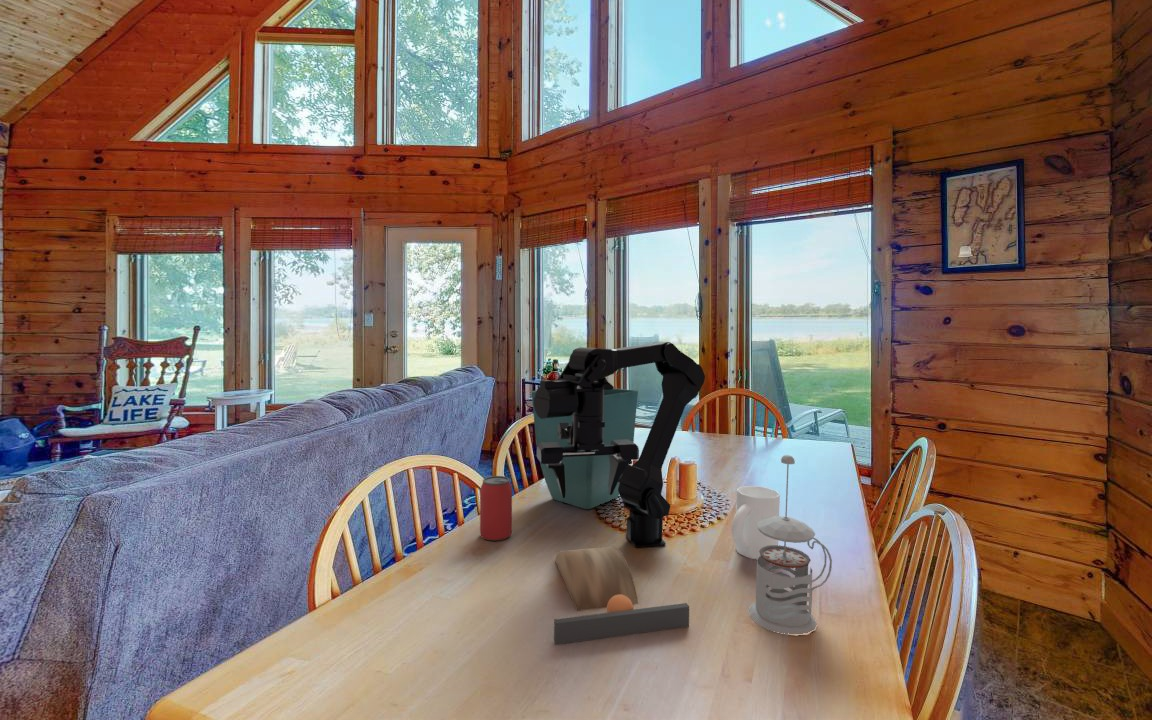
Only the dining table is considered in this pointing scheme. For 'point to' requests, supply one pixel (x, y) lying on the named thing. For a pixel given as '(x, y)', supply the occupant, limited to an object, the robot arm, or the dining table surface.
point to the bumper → (620, 623)
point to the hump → (596, 576)
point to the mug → (753, 519)
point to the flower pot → (591, 472)
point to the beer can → (495, 508)
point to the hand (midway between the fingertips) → (587, 495)
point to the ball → (619, 604)
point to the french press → (785, 575)
